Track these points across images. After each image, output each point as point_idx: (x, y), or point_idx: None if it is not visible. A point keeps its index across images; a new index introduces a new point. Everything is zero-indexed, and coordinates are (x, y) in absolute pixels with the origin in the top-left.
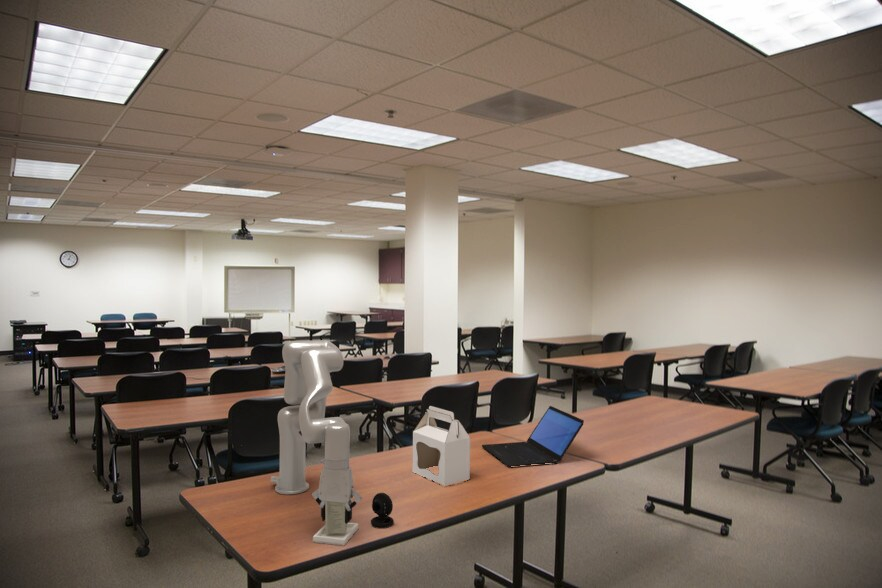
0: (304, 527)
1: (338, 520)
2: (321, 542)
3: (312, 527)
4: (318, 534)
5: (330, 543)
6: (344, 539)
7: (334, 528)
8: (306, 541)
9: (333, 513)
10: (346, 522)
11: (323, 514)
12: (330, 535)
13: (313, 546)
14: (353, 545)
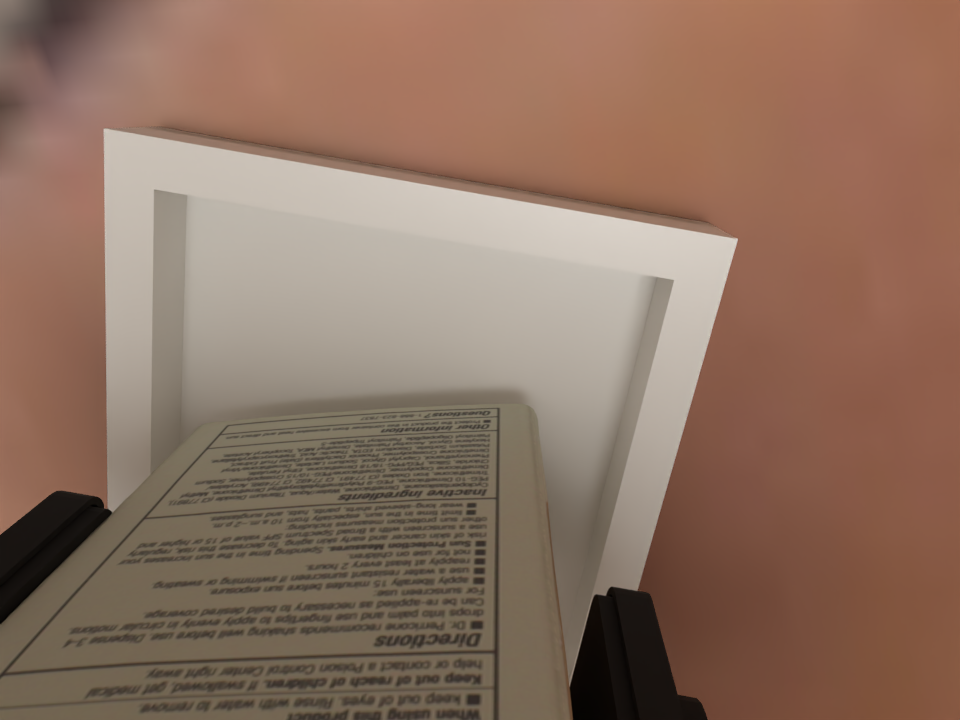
0: (914, 691)
1: (227, 534)
2: (558, 196)
3: (796, 693)
4: (651, 353)
5: (396, 168)
6: (109, 153)
7: (362, 446)
8: (824, 256)
9: (296, 652)
10: (56, 502)
11: (636, 697)
12: None
13: (672, 74)
14: (25, 163)
